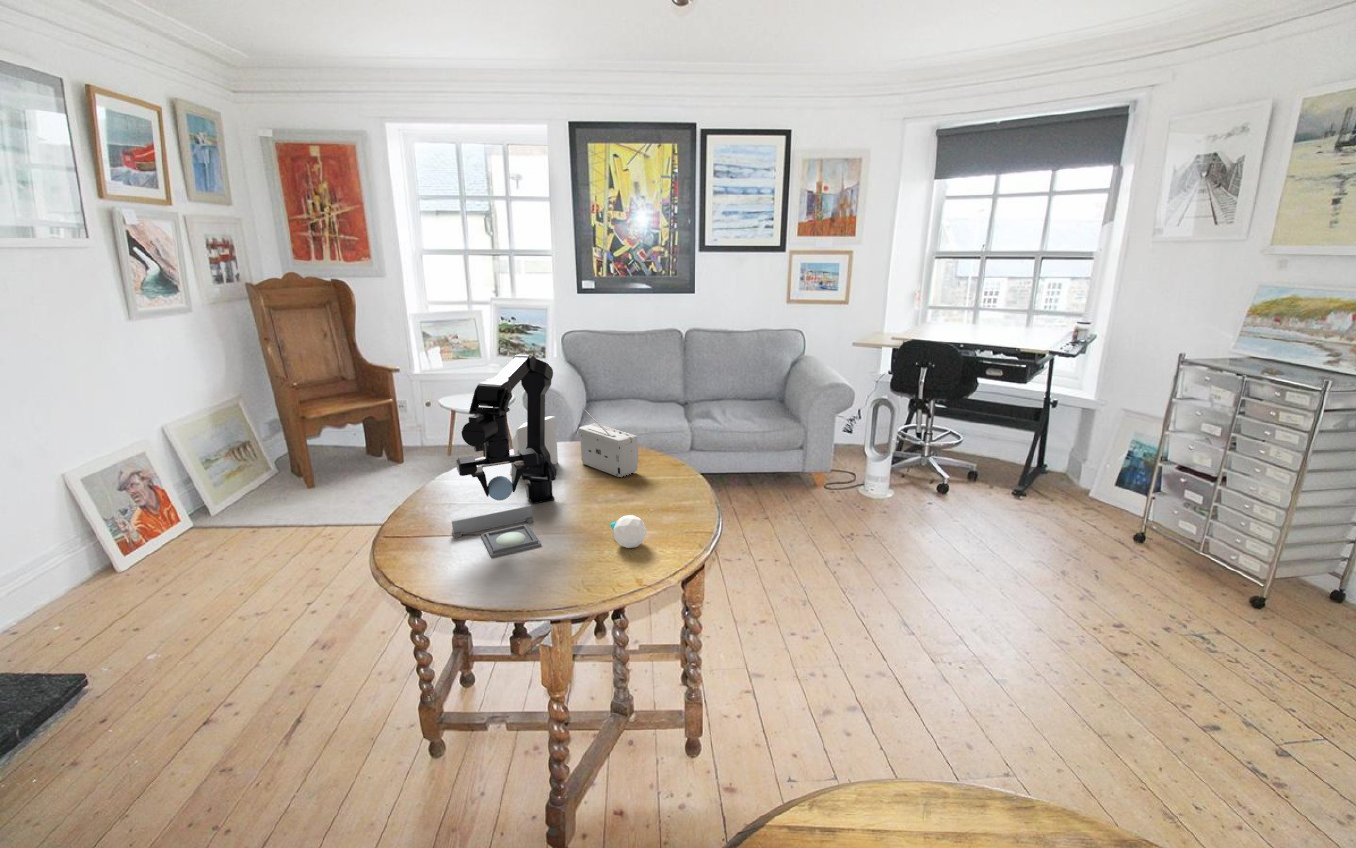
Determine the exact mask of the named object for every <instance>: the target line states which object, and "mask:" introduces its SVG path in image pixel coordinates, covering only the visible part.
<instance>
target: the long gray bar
mask: <svg viewBox="0 0 1356 848" xmlns="http://www.w3.org/2000/svg"><path fill="white" fill-rule="evenodd" d="M532 509H533V508H532V504H530V503H529V504H525V505H524V504H523V505H520V506H514V507H508V508H503V509H499V510H494V511H487V512H483V513H478V514H473V515H469V516H468V515H467V516H463V517H459V518H458V517H457V518H452V519H451V532H452V535H453V537H454V539H457V538H458V539H459V538H462V535H465V534H470V533H474V532H478V531H485V530H490V529H494V528H499V527H503V526H507V525H513V524H516V523H522V522H526V523H528V524H529V523H533V522H534V521H535V520H534V517H533V510H532Z"/></svg>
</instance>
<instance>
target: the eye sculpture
mask: <svg viewBox="0 0 1356 848" xmlns="http://www.w3.org/2000/svg"><path fill="white" fill-rule="evenodd" d="M556 421H557V417H556V416H553V415H552V416H551V415H549V416H545V447H546V448H547V450H548V452H549V453H550V458H551V463H552V464H553V465H554V466H555V465H556V464H557V463H559V458H558V454H559V453H558V442H557V441H558V439H557V438H558V437H557V435H558V434H557V422H556ZM515 431H516V432H515V434H514V436H513V438H512V441H511V445H512V449H513V453H514V454H513V455H516V454H517V452H518V450H520V449H526V447H527V421H526V422H524V423H522V424H521V425H520V426H519V427H518V428H517V429H516V430H515ZM509 473H510V474H511V475H512V466H511V468H510V471H509ZM520 479H522V476H521V477H520ZM520 479H519V480H520ZM522 480H523V479H522Z"/></svg>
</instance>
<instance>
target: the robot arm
mask: <svg viewBox="0 0 1356 848" xmlns="http://www.w3.org/2000/svg"><path fill="white" fill-rule="evenodd" d="M553 370H554V369H553V368H552V366H551V365H549V363H547V361H546V362H545V361H543V360H540V359H538V358H536V357H535V356H534V355H531V354H514V355H513V358H512V360H511V361H510V362H509V363H508V364H507V365H506V366H505V367H503V369H502V370H501V371H500V372H498V374H497V375H496V376H494V377H490V378H486V379H483V380H482V381H481V382H479V383H478V384H477V385H476V387H475V389H474V392H473V395H472V396H473V397H472V399H471V403H470V408H469V412H468V413H469V415H470V416H469V417H468V422H467V423H465V424H464V425H463V427H462V429H461V437H462V439H463V441H464V442H465V444H467V445H468V446H471V447H473V449H474V452H475V453H477V452H482V456H483V459H482V458H480V459H475V458H474V456H473V455H470V456H464V457H463V456H462V457H458V458H457V459H456V461H455V465H456V470H457V472H458V474H459V476H462V477H464V476H471V477H472V478H477V480H478V481H479V482H480V484H481V487H482V489H483V491H484V493H485V495H486V497H490V495H489V492H488V482H487V477H486V472H485V471H484V468H486V467H493V466H500V465H507V464H511V467H512V474H511V483H512V487H513V489H512V493H515V491H516V490H517V487H518V484H519V481H520V477H521V476H522V481H525V480H526V481H527V483H526V484H525V493H526V498H527V499H528V500H529V501H530V502H531V503H532V504H539V503H544V502H549V501H553V500H555V497H554V495H553V482H552V481H556V480H557V479H556V478H557V470H558V469H557V468H556V467H555V464H554V465H553V464H552V463H551V458H550V453H549V452H548V450H547V448H546V447H545V417H546V394H547V392H548V391H549V389H550V388H551V386H552V379H553V376H554V371H553ZM519 383H521V386H522V389H523V390H524V392H525V393H526V397H527V399H526V400H527V401H526V403H527V404H526V407H527V408H526V410H527V411H526V415H527V416H526V419H527V421H526V422H527V447H526V449H520V450H518V452H517V454H516V455H514V454H512V455H511V454H510V439H509V429H508V414H507V413H508V412H510V410H511V409H510V408H509V404H510V402H511V400H512V399H513V394H512V391H513V389H514V388H515V387H516V386H517V385H518V384H519Z"/></svg>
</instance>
